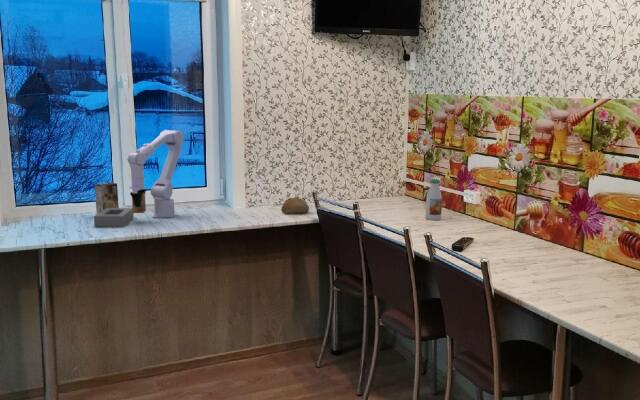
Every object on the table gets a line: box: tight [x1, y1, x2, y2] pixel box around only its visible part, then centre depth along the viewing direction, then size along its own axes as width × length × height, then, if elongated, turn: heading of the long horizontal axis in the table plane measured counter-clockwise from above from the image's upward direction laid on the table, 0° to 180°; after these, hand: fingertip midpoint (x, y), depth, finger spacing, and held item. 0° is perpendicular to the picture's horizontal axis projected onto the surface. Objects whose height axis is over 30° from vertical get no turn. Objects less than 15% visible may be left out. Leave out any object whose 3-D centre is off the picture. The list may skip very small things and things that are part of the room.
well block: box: [93, 207, 135, 228], centre depth 278 cm, size 13×20×5 cm, turn 4°
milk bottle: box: [425, 178, 443, 221], centre depth 290 cm, size 8×8×20 cm
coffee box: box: [94, 182, 120, 215], centre depth 293 cm, size 9×6×16 cm
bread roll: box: [280, 197, 310, 214], centre depth 303 cm, size 10×15×8 cm, turn 112°
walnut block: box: [131, 192, 147, 214], centre depth 279 cm, size 5×5×9 cm
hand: (139, 205), depth 279 cm, fingers closed on walnut block, 5 cm apart
